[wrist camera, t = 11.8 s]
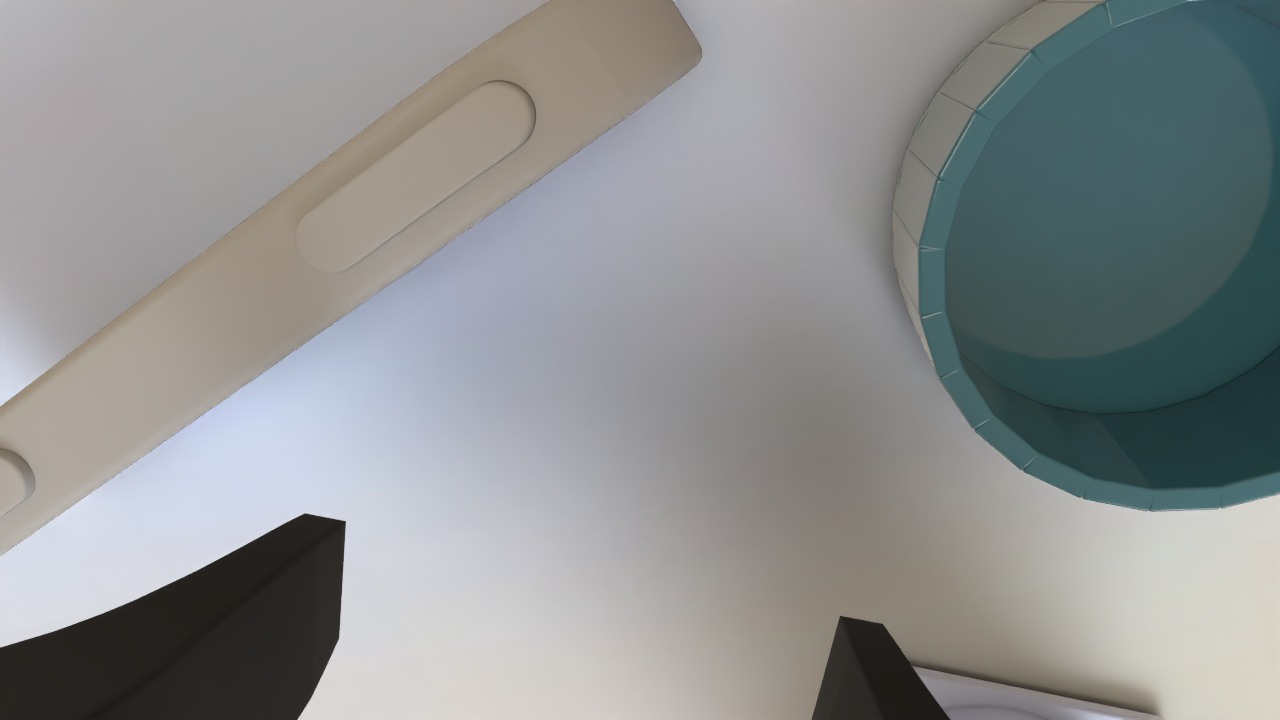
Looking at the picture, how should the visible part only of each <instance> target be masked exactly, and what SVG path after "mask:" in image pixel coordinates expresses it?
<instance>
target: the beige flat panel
mask: <svg viewBox="0 0 1280 720" xmlns="http://www.w3.org/2000/svg"><path fill="white" fill-rule="evenodd" d="M701 57H702V49H701V46H700V44H699V43H698V41H697V39H696V38H695V36H694V34H693V33H692V31H691V29H690V28H689V26H688V25H687V23H686V22H685V20H684V18H683V17H682V15H681V14H680V12H679V10H678V9H677V7H676V6H675V4H674V3H673V1H672V0H550V1H548V2H547V3H545V4H543V5H542V6H540V7H538V8H537V9H535V10H534V11H532V12H530V13H529V14H527V15H526V16H524V17H523V18H521V19H519V20H518V21H516V22H515V23H513V24H512V25H510V26H509V27H507V28H505V29H504V30H502V31H501V32H499V33H498V34H496V35H495V36H493V37H492V38H490V39H489V40H487V41H486V42H484V43H483V44H481V45H480V46H478V47H477V48H476V49H474V50H473V51H471V52H470V53H468V54H467V55H465V56H464V57H462V58H461V59H460V60H458V61H457V62H455V63H454V64H452V65H451V66H450V67H448V68H447V69H445V70H444V71H443V72H441V73H440V74H438V75H437V76H436V77H434V78H433V79H431V80H430V81H429V82H427V83H426V84H424V85H423V86H422V87H420V88H419V89H418V90H416V91H415V92H414V93H412V94H411V95H410V96H408V97H407V98H405V99H404V100H403V101H401V102H400V103H399V104H398V105H396V106H395V107H394V108H392V109H391V110H390V111H388V112H387V113H386V114H384V115H383V116H382V117H380V118H379V119H378V120H376V121H375V122H374V123H372V124H371V125H370V126H368V127H367V128H366V129H364V130H363V131H362V132H360V133H359V134H358V135H357V136H355V137H354V138H353V139H351V140H350V141H349V142H347V143H346V144H345V145H343V146H342V147H341V148H339V149H338V150H337V151H335V152H334V153H333V154H331V155H330V156H329V157H328V158H326V159H325V160H324V161H322V162H321V163H320V164H318V165H317V166H316V167H314V168H313V169H312V170H310V171H309V172H308V173H306V174H305V175H304V176H303V177H301V178H300V179H299V180H297V181H296V182H295V183H293V184H292V185H291V186H289V187H288V188H287V189H285V190H284V191H283V192H281V193H280V194H279V195H278V196H276V197H275V198H274V199H272V200H271V201H270V202H268V203H267V204H266V205H264V206H263V207H262V208H260V209H259V210H258V211H256V212H255V213H254V214H253V215H251V216H250V217H249V218H247V219H246V220H245V221H243V222H242V223H241V224H239V225H238V226H237V227H235V228H234V229H233V230H232V231H230V232H229V233H228V234H226V235H225V236H224V237H222V238H221V239H220V240H218V241H217V242H216V243H214V244H213V245H212V246H211V247H209V248H208V249H207V250H205V251H204V252H203V253H201V254H200V255H199V256H197V257H196V258H195V259H193V260H192V261H191V262H190V263H188V264H187V265H186V266H184V267H183V268H182V269H180V270H179V271H178V272H176V273H175V274H174V275H172V276H171V277H170V278H169V279H167V280H166V281H165V282H163V283H162V284H161V285H159V286H158V287H157V288H155V289H154V290H153V291H151V292H150V293H149V294H148V295H146V296H145V297H144V298H142V299H141V300H140V301H138V302H137V303H136V304H134V305H133V306H132V307H130V308H129V309H128V310H126V311H125V312H124V313H123V314H121V315H120V316H119V317H117V318H116V319H115V320H113V321H112V322H111V323H109V324H108V325H107V326H106V327H104V328H103V329H102V330H100V331H99V332H98V333H96V334H95V335H94V336H92V337H91V338H90V339H88V340H87V341H86V342H85V343H83V344H82V345H81V346H79V347H78V348H77V349H75V350H74V351H73V352H71V353H70V354H69V355H67V356H66V357H65V358H64V359H62V360H61V361H60V362H58V363H57V364H56V365H54V366H53V367H52V368H50V369H49V370H48V371H47V372H45V373H44V374H43V375H41V376H40V377H39V378H37V379H36V380H35V381H33V382H32V383H31V384H29V385H28V386H27V387H26V388H24V389H23V390H22V391H20V392H19V393H18V394H16V395H15V396H14V397H12V398H11V399H10V400H9V401H7V402H6V403H5V404H3V405H2V406H1V407H0V556H1V555H3V554H4V553H6V552H7V551H8V550H10V549H11V548H13V547H14V546H16V545H17V544H19V543H20V542H21V541H23V540H24V539H26V538H27V537H29V536H30V535H31V534H33V533H34V532H36V531H37V530H39V529H40V528H41V527H43V526H44V525H46V524H47V523H49V522H50V521H51V520H53V519H54V518H56V517H57V516H59V515H60V514H61V513H63V512H64V511H66V510H67V509H69V508H70V507H71V506H73V505H74V504H76V503H77V502H79V501H80V500H82V499H83V498H84V497H86V496H87V495H89V494H90V493H92V492H93V491H94V490H96V489H97V488H99V487H100V486H102V485H103V484H104V483H106V482H107V481H109V480H110V479H112V478H113V477H114V476H116V475H117V474H119V473H120V472H122V471H123V470H124V469H126V468H127V467H129V466H130V465H132V464H133V463H134V462H136V461H137V460H139V459H140V458H142V457H143V456H144V455H146V454H147V453H149V452H150V451H152V450H153V449H155V448H156V447H157V446H159V445H160V444H162V443H163V442H165V441H166V440H167V439H169V438H170V437H172V436H173V435H175V434H176V433H177V432H179V431H180V430H182V429H183V428H185V427H186V426H187V425H189V424H190V423H192V422H193V421H195V420H196V419H197V418H199V417H200V416H202V415H203V414H205V413H206V412H207V411H209V410H210V409H212V408H213V407H215V406H216V405H217V404H219V403H220V402H222V401H223V400H225V399H226V398H228V397H229V396H230V395H232V394H233V393H235V392H236V391H238V390H239V389H240V388H242V387H243V386H245V385H246V384H248V383H249V382H250V381H252V380H253V379H255V378H256V377H258V376H259V375H260V374H262V373H263V372H265V371H266V370H268V369H269V368H270V367H272V366H273V365H275V364H276V363H278V362H279V361H280V360H282V359H283V358H285V357H286V356H288V355H289V354H290V353H292V352H293V351H295V350H296V349H298V348H299V347H301V346H302V345H303V344H305V343H306V342H308V341H309V340H311V339H312V338H313V337H315V336H316V335H318V334H319V333H321V332H322V331H323V330H325V329H326V328H328V327H329V326H331V325H332V324H333V323H335V322H336V321H338V320H339V319H341V318H342V317H343V316H345V315H346V314H348V313H349V312H351V311H352V310H353V309H355V308H356V307H358V306H359V305H361V304H362V303H363V302H365V301H366V300H368V299H369V298H371V297H372V296H373V295H375V294H376V293H378V292H379V291H381V290H382V289H383V288H385V287H386V286H388V285H389V284H391V283H392V282H394V281H395V280H396V279H398V278H399V277H401V276H402V275H404V274H405V273H406V272H408V271H409V270H411V269H412V268H414V267H415V266H416V265H418V264H419V263H421V262H422V261H424V260H425V259H426V258H428V257H429V256H431V255H432V254H434V253H435V252H436V251H438V250H439V249H441V248H442V247H444V246H445V245H446V244H448V243H449V242H451V241H452V240H454V239H455V238H456V237H458V236H459V235H461V234H462V233H464V232H465V231H466V230H468V229H469V228H471V227H472V226H474V225H475V224H476V223H478V222H479V221H481V220H482V219H484V218H485V217H486V216H488V215H489V214H491V213H492V212H494V211H495V210H496V209H498V208H499V207H501V206H502V205H504V204H505V203H506V202H508V201H509V200H511V199H512V198H514V197H515V196H516V195H518V194H519V193H521V192H522V191H524V190H525V189H526V188H528V187H529V186H531V185H532V184H533V183H535V182H536V181H538V180H539V179H541V178H542V177H543V176H545V175H546V174H548V173H549V172H550V171H552V170H553V169H555V168H556V167H558V166H559V165H560V164H562V163H563V162H565V161H566V160H567V159H569V158H570V157H572V156H573V155H574V154H576V153H577V152H579V151H580V150H581V149H583V148H584V147H586V146H587V145H589V144H590V143H591V142H593V141H594V140H596V139H597V138H598V137H600V136H601V135H603V134H604V133H605V132H607V131H608V130H610V129H611V128H612V127H614V126H615V125H617V124H618V123H619V122H621V121H622V120H623V119H625V118H626V117H628V116H629V115H630V114H632V113H633V112H635V111H636V110H637V109H639V108H640V107H642V106H643V105H644V104H646V103H647V102H648V101H650V100H651V99H653V98H654V97H655V96H657V95H658V94H659V93H661V92H662V91H664V90H665V89H666V88H668V87H669V86H670V85H672V84H673V83H674V82H676V81H677V80H678V79H680V78H681V77H682V76H684V75H685V74H686V73H688V72H689V71H690V70H691V69H693V68H694V67H695V66H696V65H697V64H698V63H699V62H700V60H701Z"/></svg>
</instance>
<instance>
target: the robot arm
mask: <svg viewBox="0 0 1280 720" xmlns="http://www.w3.org/2000/svg"><path fill="white" fill-rule="evenodd" d="M345 526H346V521H341V520H336V519H331V518H326V517H320V516H315V515H310V514H303V515H301V516H299V517H297V518H295V519H293V520H291V521H289V522H287V523H285V524H283V525H281V526H279V527H278V528H276V529H274V530H272V531H270V532H268V533H267V534H265V535H263V536H261V537H259V538H257V539H256V540H254V541H252V542H250V543H248V544H246V545H245V546H243V547H241V548H239V549H237V550H235V551H233V552H232V553H230V554H228V555H226V556H224V557H222V558H220V559H218V560H216V561H215V562H213V563H211V564H209V565H207V566H205V567H203V568H201V569H199V570H197V571H196V572H193V573H191V574H189V575H187V576H185V577H183V578H181V579H179V580H177V581H174V582H172V583H170V584H168V585H166V586H164V587H162V588H160V589H158V590H155V591H153V592H151V593H149V594H147V595H145V596H143V597H141V598H139V599H136V600H134V601H132V602H130V603H127V604H125V605H123V606H120V607H118V608H115V609H113V610H110V611H108V612H105V613H103V614H100V615H98V616H95V617H92V618H90V619H87V620H84V621H82V622H79V623H76V624H74V625H71V626H68V627H66V628H63V629H60V630H57V631H54V632H51V633H48V634H44V635H41V636H38V637H34V638H31V639H28V640H24V641H21V642H18V643H14V644H11V645H8V646H4V647H1V648H0V720H297V719H298V718H299V716H300V715H301V713H302V712H303V710H304V708H305V707H306V705H307V704H308V702H309V700H310V699H311V697H312V695H313V693H314V691H315V689H316V687H317V685H318V683H319V681H320V678H321V676H322V674H323V672H324V670H325V668H326V666H327V664H328V661H329V659H330V657H331V655H332V653H333V650H334V648H335V646H336V644H337V642H338V639H339V630H340V613H341V595H342V578H343V561H344V543H345ZM812 720H1163V719H1162V718H1161V717H1158V716H1155V715H1152V714H1147V713H1142V712H1137V711H1132V710H1127V709H1122V708H1117V707H1112V706H1107V705H1103V704H1098V703H1093V702H1088V701H1083V700H1078V699H1073V698H1068V697H1063V696H1058V695H1053V694H1048V693H1043V692H1038V691H1033V690H1028V689H1024V688H1019V687H1014V686H1009V685H1004V684H999V683H994V682H989V681H984V680H979V679H974V678H969V677H964V676H959V675H954V674H949V673H945V672H940V671H935V670H930V669H925V668H920V667H915V666H912V665H911V664H910V663H909V661H908V660H907V658H906V657H905V655H904V654H903V652H902V651H901V649H900V648H899V646H898V645H897V644H896V642H895V641H894V639H893V638H892V636H891V635H890V633H889V632H888V630H887V629H886V628H885V626H884V625H883V624H880V623H875V622H870V621H864V620H859V619H854V618H849V617H843V616H840V618H839V622H838V625H837V629H836V633H835V636H834V640H833V644H832V647H831V651H830V655H829V658H828V662H827V666H826V669H825V673H824V677H823V680H822V684H821V688H820V691H819V695H818V699H817V702H816V706H815V710H814V713H813V717H812Z"/></svg>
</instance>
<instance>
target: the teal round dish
mask: <svg viewBox="0 0 1280 720" xmlns="http://www.w3.org/2000/svg"><path fill="white" fill-rule="evenodd" d="M891 235H892V246H893V257H894V265H895V271H896V274H897V277H898V281H899V285H900V289H901V292H902V294H903V297H904V300H905V303H906V306H907V309H908V312H909V316H910V318H911V321H912V323H913V325H914V327H915V329H916V331H917V333H918V335H919V338H920V340H921V342H922V344H923V346H924V348H925V350H926V352H927V355H928V357H929V359H930V361H931V363H932V365H933V367H934V369H935V372H936V374H937V376H938V378H939V380H940V381H941V383H942V384H943V386H944V387H945V389H946V390H947V392H948V393H949V395H950V396H951V398H952V399H953V401H954V402H955V404H956V405H957V407H958V408H959V410H960V411H961V413H962V414H963V416H964V417H965V419H966V420H967V422H968V423H969V425H970V426H971V428H973V429H974V431H975V432H976V433H977V434H978V435H979V436H981V437H982V438H983V439H984V440H985V441H987V442H988V443H989V444H990V445H991V446H992V447H994V448H995V449H996V450H997V451H998V452H1000V453H1001V454H1002V455H1003V456H1004V457H1006V458H1007V459H1008V460H1009V461H1010V462H1011V463H1013V464H1014V465H1015V466H1016V467H1017V468H1019V469H1020V470H1023V471H1024V472H1025V473H1027V474H1029V475H1031V476H1033V477H1036V478H1038V479H1040V480H1042V481H1044V482H1046V483H1048V484H1051V485H1053V486H1055V487H1057V488H1059V489H1061V490H1064V491H1066V492H1068V493H1070V494H1072V495H1074V496H1076V497H1079V498H1081V497H1082V498H1083V499H1086V500H1091V501H1096V502H1101V503H1106V504H1112V505H1117V506H1122V507H1127V508H1132V509H1138V510H1143V511H1148V510H1149V511H1152V512H1155V511H1183V510H1210V509H1219V508H1227V507H1231V506H1234V505H1238V504H1242V503H1246V502H1250V501H1254V500H1258V499H1262V498H1266V497H1270V496H1274V495H1277V494H1280V0H1045V1H1043V2H1041V3H1039V4H1037V5H1035V6H1034V7H1032V8H1030V9H1029V10H1027V11H1025V12H1024V13H1022V14H1020V15H1018V16H1017V17H1015V18H1013V19H1012V20H1010V21H1009V22H1007V23H1006V24H1005V25H1003V26H1002V27H1001V28H1000V29H998V30H997V31H996V32H994V33H993V34H992V35H990V36H989V37H988V38H987V39H985V40H984V41H983V42H982V43H980V44H979V45H978V46H977V47H976V48H975V49H974V50H973V51H972V52H971V53H970V54H969V55H968V56H967V57H966V58H965V59H964V60H963V61H962V62H961V63H960V64H959V65H958V66H957V67H956V69H955V70H954V71H953V72H952V74H951V75H950V76H949V77H948V79H947V80H946V81H945V82H944V84H943V85H942V86H941V87H940V89H939V90H938V91H937V93H936V94H935V96H934V97H933V99H932V101H931V102H930V104H929V105H928V107H927V109H926V110H925V112H924V113H923V115H922V117H921V118H920V120H919V123H918V125H917V127H916V129H915V131H914V133H913V135H912V138H911V140H910V142H909V144H908V146H907V149H906V152H905V155H904V159H903V162H902V165H901V168H900V171H899V174H898V178H897V184H896V190H895V195H894V201H893V209H892V232H891Z"/></svg>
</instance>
